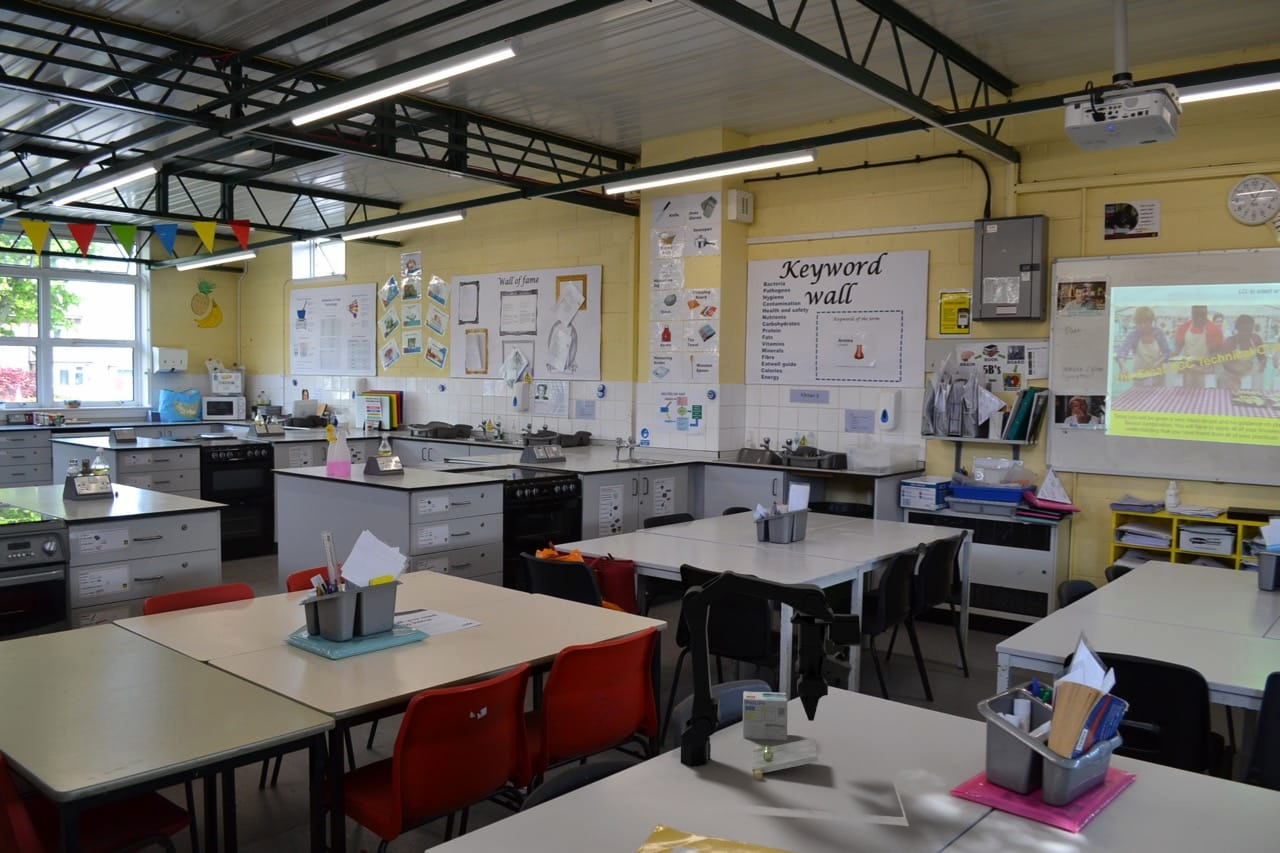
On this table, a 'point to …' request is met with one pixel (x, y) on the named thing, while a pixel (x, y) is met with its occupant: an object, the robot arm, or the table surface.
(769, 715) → the light bulb box
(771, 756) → the level plate
